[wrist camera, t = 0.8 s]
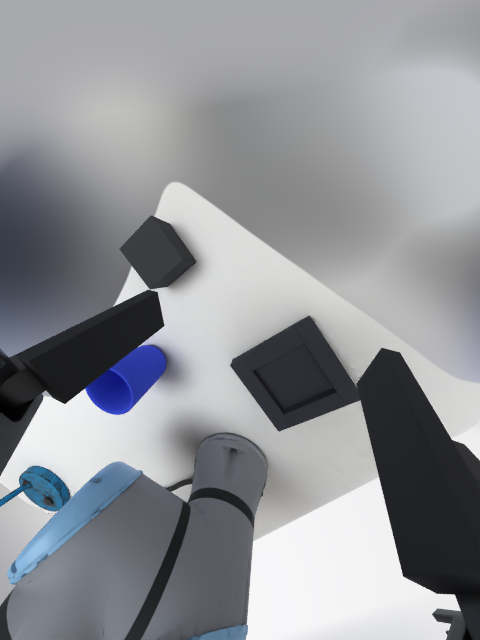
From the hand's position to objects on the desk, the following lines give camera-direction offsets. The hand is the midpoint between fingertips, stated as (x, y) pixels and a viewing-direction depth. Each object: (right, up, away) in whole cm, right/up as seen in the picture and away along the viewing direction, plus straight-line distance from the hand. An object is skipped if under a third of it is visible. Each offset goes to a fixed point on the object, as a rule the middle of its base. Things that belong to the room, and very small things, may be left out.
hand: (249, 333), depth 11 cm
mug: (-20, -7, +25) cm, 32 cm away
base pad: (+8, -8, +20) cm, 23 cm away
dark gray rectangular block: (-12, +11, +18) cm, 25 cm away
